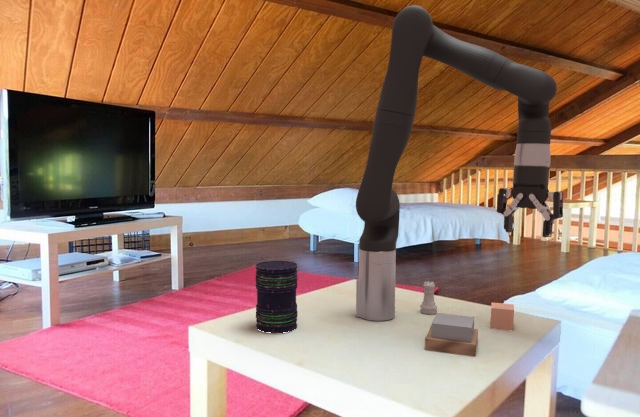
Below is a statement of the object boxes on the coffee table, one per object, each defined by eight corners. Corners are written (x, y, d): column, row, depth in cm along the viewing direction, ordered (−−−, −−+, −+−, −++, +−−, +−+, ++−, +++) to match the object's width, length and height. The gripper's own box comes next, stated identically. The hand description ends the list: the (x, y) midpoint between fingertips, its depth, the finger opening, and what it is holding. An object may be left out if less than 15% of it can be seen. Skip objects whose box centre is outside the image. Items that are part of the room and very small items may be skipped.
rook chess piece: (437, 315, 124) (438, 284, 123) (419, 314, 125) (420, 283, 124) (436, 310, 128) (437, 280, 127) (419, 309, 129) (420, 279, 128)
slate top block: (431, 337, 101) (431, 323, 100) (436, 325, 108) (436, 312, 108) (471, 342, 98) (471, 327, 97) (473, 330, 105) (474, 316, 105)
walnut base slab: (424, 352, 100) (425, 338, 100) (431, 336, 110) (431, 323, 109) (475, 359, 97) (475, 344, 96) (477, 342, 106) (478, 329, 106)
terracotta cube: (490, 328, 114) (491, 307, 114) (490, 322, 119) (491, 302, 118) (513, 331, 112) (514, 310, 112) (512, 324, 117) (513, 304, 116)
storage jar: (283, 336, 108) (283, 270, 106) (247, 329, 112) (246, 266, 111) (305, 324, 116) (305, 263, 115) (270, 318, 121) (270, 259, 120)
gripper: (494, 163, 113) (490, 232, 114) (558, 164, 102) (552, 240, 104) (508, 164, 118) (504, 229, 119) (570, 165, 108) (565, 237, 109)
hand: (526, 234), depth 112 cm, fingers open, 8 cm apart
